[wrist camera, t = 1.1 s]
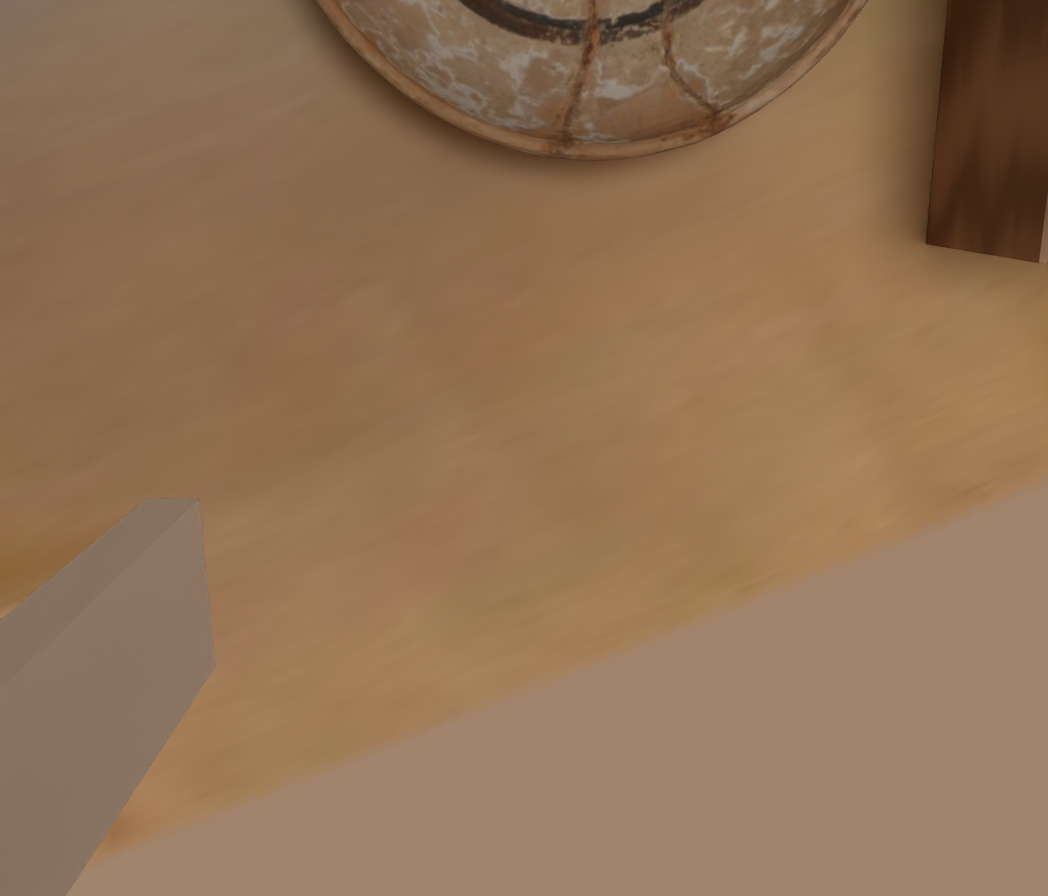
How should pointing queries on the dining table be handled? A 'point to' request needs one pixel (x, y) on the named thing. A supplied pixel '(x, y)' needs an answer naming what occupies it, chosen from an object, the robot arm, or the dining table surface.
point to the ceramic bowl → (592, 65)
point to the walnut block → (993, 131)
